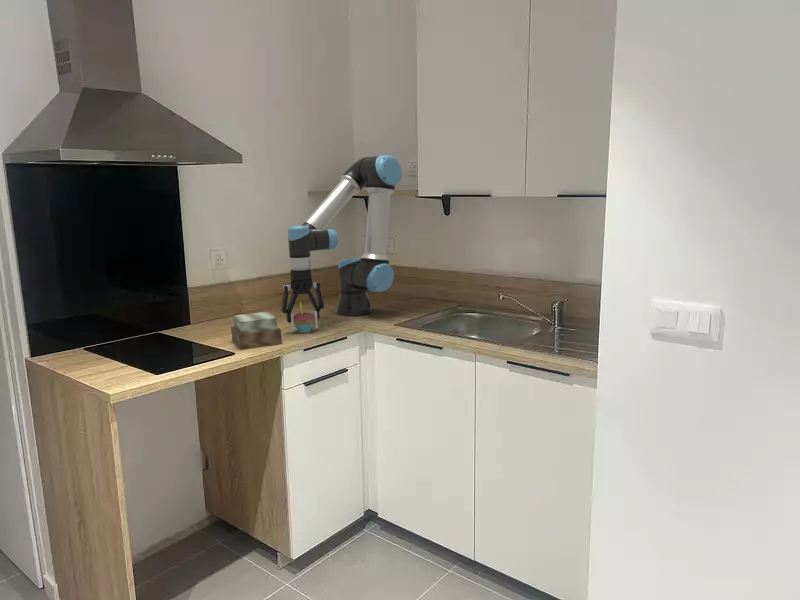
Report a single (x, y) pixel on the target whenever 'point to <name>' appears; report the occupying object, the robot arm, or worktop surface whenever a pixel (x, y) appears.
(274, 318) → the block tower
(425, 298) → the worktop surface
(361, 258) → the robot arm
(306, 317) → the cupcake
